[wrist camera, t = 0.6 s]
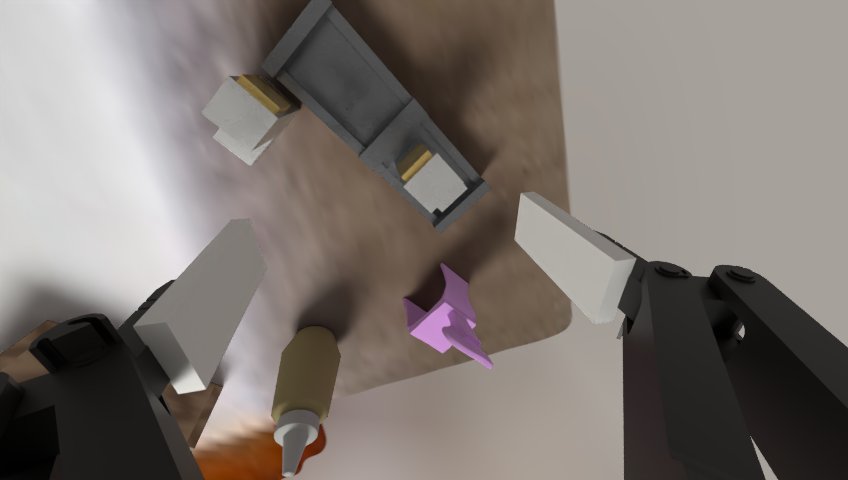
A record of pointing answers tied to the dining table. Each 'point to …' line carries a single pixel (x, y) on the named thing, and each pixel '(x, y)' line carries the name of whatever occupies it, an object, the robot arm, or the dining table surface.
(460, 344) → the toy chair
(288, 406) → the squeeze bottle
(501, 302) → the dining table surface
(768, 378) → the robot arm
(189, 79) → the dining table surface
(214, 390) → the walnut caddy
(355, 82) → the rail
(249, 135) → the gold-topped white block
